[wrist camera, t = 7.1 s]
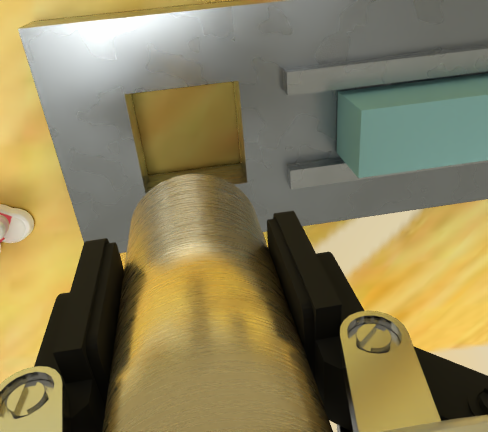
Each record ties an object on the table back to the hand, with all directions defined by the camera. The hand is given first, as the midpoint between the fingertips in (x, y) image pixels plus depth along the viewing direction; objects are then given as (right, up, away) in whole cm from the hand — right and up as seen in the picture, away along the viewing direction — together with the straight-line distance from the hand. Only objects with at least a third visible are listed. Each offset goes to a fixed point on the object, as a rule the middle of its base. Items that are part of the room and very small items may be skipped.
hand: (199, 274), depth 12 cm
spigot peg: (0, +1, +2) cm, 2 cm away
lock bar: (+11, +7, +10) cm, 16 cm away
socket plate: (+4, +7, +11) cm, 14 cm away
